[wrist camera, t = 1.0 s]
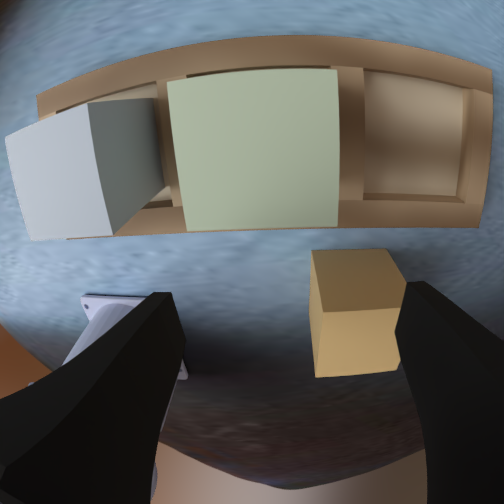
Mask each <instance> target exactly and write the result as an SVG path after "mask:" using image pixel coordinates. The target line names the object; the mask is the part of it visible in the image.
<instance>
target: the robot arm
mask: <svg viewBox="0 0 504 504" xmlns="http://www.w3.org/2000/svg"><path fill="white" fill-rule="evenodd" d="M80 301H81V304H82V306H83V308H84V310H85V312H86V315H87V317H88V319H89V321H90V323H89V324H88V326H87V327H86V329H85V330H84V332H83V333H82V335H81V336H80V338H79V339H78V341H77V342H76V344H75V345H74V347H73V348H72V350H71V352H70V353H69V355H68V356H67V358H66V360H65V361H64V363H63V364H62V366H61V367H59V368H58V369H57V370H55V371H53V372H52V373H50V374H49V375H47V376H45V377H43V378H42V379H40V380H38V381H36V382H33V383H30V384H29V385H28V387H26V388H24V389H22V390H20V391H18V392H15V393H13V394H11V395H9V396H6V397H4V398H2V399H0V504H150V501H151V500H152V497H153V495H154V492H155V489H156V485H157V468H156V463H155V456H156V450H157V445H158V439H159V434H160V432H161V430H162V428H163V425H164V422H165V419H166V415H167V412H168V409H169V405H170V402H171V399H172V395H173V392H174V389H175V386H176V382H177V379H181V380H186V379H187V378H188V373H187V370H186V367H185V365H184V362H183V359H182V358H183V353H184V348H185V342H186V338H185V335H184V332H183V329H182V326H181V323H180V320H179V316H178V313H177V310H176V307H175V303H174V300H173V297H172V293H171V292H153V293H152V294H151V295H149V296H148V297H147V298H140V297H116V296H96V295H82V297H81V298H80ZM394 333H395V337H396V342H397V347H398V351H399V355H400V359H401V362H402V365H403V368H404V371H405V374H406V377H407V380H408V383H409V385H410V388H411V391H412V394H413V397H414V401H415V404H416V407H417V410H418V413H419V417H420V421H421V425H422V431H423V437H424V444H425V452H426V464H427V490H428V491H427V504H504V341H503V340H501V339H500V338H498V337H497V336H496V335H494V334H493V333H492V332H490V331H489V330H488V329H486V328H485V327H484V326H482V325H481V324H480V323H478V322H477V321H476V320H475V319H473V318H472V317H471V316H469V315H468V314H467V313H466V312H464V311H463V310H462V309H461V308H459V307H458V306H457V305H456V304H454V303H453V302H452V301H451V300H449V299H448V298H447V297H445V296H444V295H443V294H441V293H440V292H439V291H437V290H436V289H435V288H433V287H432V286H431V285H429V284H428V283H426V282H424V281H418V282H407V284H406V288H405V292H404V297H403V301H402V305H401V309H400V313H399V316H398V320H397V324H396V327H395V331H394Z"/></svg>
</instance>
